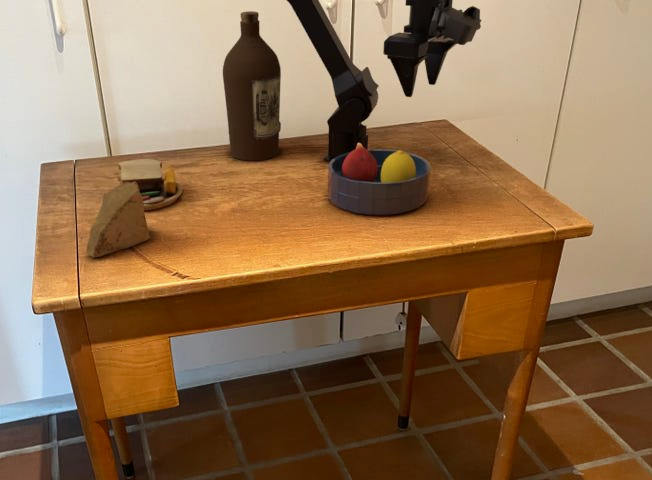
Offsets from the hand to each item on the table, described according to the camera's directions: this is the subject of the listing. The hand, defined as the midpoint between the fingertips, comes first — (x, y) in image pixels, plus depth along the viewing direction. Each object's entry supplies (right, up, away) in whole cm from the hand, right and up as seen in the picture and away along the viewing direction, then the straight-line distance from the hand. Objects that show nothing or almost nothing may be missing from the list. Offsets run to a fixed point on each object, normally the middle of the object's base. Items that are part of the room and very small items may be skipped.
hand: (420, 90), depth 127 cm
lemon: (-6, -21, -7) cm, 23 cm away
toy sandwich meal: (-48, -19, -1) cm, 51 cm away
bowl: (-8, -20, -6) cm, 22 cm away
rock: (-49, -30, -17) cm, 60 cm away
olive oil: (-29, -7, +15) cm, 33 cm away
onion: (-11, -18, -4) cm, 22 cm away
